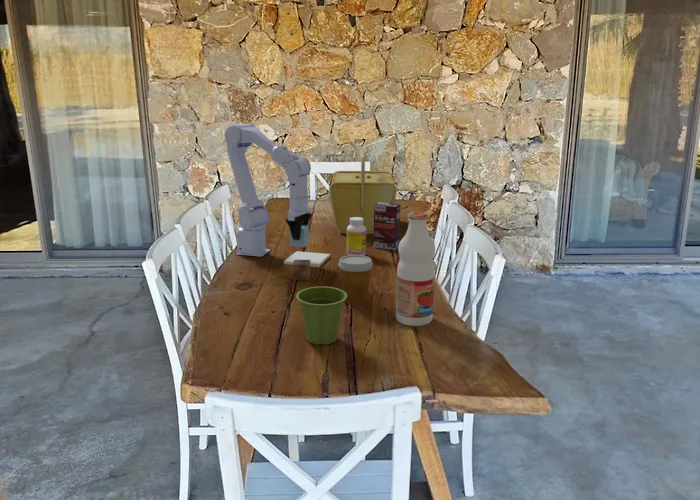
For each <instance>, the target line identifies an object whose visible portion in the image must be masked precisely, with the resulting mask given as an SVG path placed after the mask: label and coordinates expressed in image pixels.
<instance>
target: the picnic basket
mask: <svg viewBox="0 0 700 500" xmlns="http://www.w3.org/2000/svg"><path fill="white" fill-rule="evenodd" d="M365 167H366V152H365V149H364V148H361V151H360V170H337V171H334V172H333V173H332V175H331V183H330V185H329V186H328V191H329V192H328V193H329V198H330V203H331V209H332V215H333V219H334V220H333V221H334V226H335V228H336V230H337V231H338V232H340V233H342V234H346V235H347V227H348V226H349V225H350V218H352V217H361V218H363V219H364V222H363V225H364V226H365V227H366V235H374V205H375V204H376V203H378V202H381V203H391V204H395V203H396V202H395V201H396V197H397V192H398V188H397V185H396V184H395V181H394V175H393V174H392V172H390V171H386V170H366V168H365Z"/></svg>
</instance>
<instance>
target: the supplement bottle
mask: <svg viewBox="0 0 700 500" xmlns="http://www.w3.org/2000/svg"><path fill="white" fill-rule="evenodd" d="M363 222H364V219H363V218H361V217H352V218H350V225H349V226H348V227H347V234H346V256H348V255H362V256H366V254H367V234H366V227H365V226H364V225H363Z"/></svg>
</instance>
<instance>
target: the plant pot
mask: <svg viewBox="0 0 700 500" xmlns="http://www.w3.org/2000/svg"><path fill="white" fill-rule="evenodd" d="M295 296H296V299H297V301H299V307H300V310H301V314H302V320H303V326H304V329H305V330H304V331H305V337H306V340H307V341H308V342H309V343H310V344H312V345H313V344H314V345H324V346H325V345H327V346H328V345H330V344H333V343H335V342H337V339H338V336H339V330H340V324H341V319H342V312H343V309H344V306H345V305H344V304H345V302H344V301H345V300H346V298H347V294H346V292H344V291H343V289H342V288H338V287H337V288H336V287H332V286H312V287H311V286H310V287H308V288H304V289H302V290H299V291H298V292H297V293H296V295H295Z"/></svg>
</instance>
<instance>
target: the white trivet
mask: <svg viewBox="0 0 700 500" xmlns="http://www.w3.org/2000/svg"><path fill="white" fill-rule="evenodd" d="M330 255H331V254H330V253H322V252H311V251H310V252H308V251H297V250H296V251H295V252H293V254H291V255H290V256H288V257H287V258H286V259H285V260H284V261H283V265H291V266H293V261H294V260H310V268H311V267H313V268H320V267H321V266H322V265H323V264H324V263H326V261H328V259H330Z"/></svg>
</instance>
